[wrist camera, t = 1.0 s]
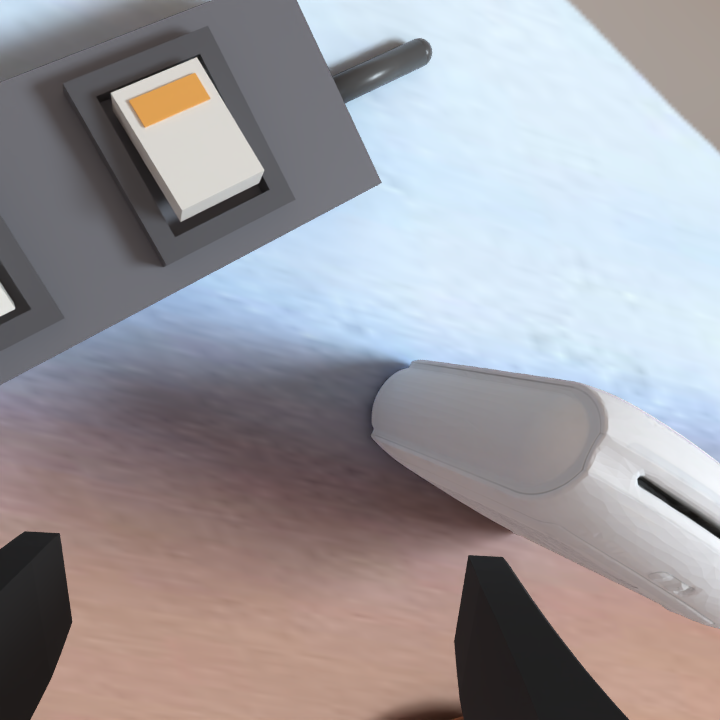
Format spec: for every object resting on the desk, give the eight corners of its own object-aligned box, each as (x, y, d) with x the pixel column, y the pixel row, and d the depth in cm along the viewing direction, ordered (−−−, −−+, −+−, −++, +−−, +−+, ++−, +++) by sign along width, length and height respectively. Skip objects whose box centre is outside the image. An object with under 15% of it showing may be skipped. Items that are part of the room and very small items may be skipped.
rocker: (180, 221, 19) (182, 209, 18) (112, 110, 19) (110, 91, 18) (258, 182, 20) (264, 169, 19) (194, 75, 20) (197, 55, 19)
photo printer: (573, 460, 31) (870, 548, 19) (529, 546, 30) (811, 688, 19) (401, 342, 27) (647, 364, 15) (348, 436, 26) (563, 532, 15)
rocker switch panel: (-477, 631, 17) (-614, 711, 14) (-707, 400, 16) (-929, 425, 12) (459, 137, 27) (516, 112, 24) (383, -39, 25) (434, -94, 22)
